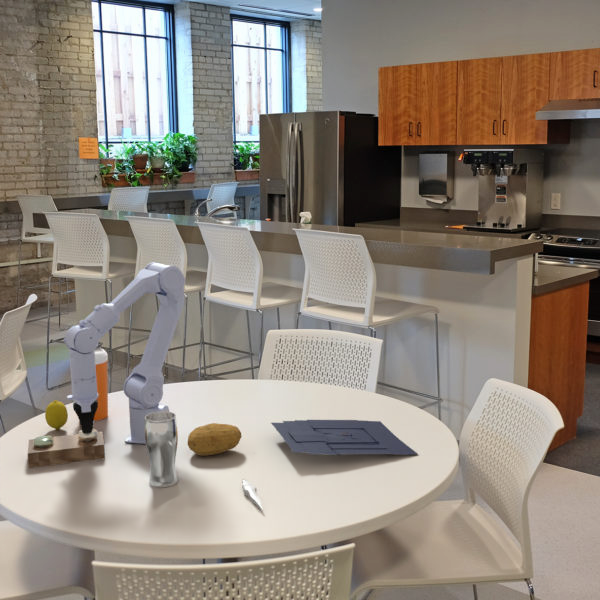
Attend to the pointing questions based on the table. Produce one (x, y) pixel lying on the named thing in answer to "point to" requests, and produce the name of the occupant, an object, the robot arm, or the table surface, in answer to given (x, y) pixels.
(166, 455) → the beer glass
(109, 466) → the table surface
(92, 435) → the silver knob
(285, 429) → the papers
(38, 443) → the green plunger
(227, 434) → the potato
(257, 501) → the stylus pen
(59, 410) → the lemon
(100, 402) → the shaker bottle
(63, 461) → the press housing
